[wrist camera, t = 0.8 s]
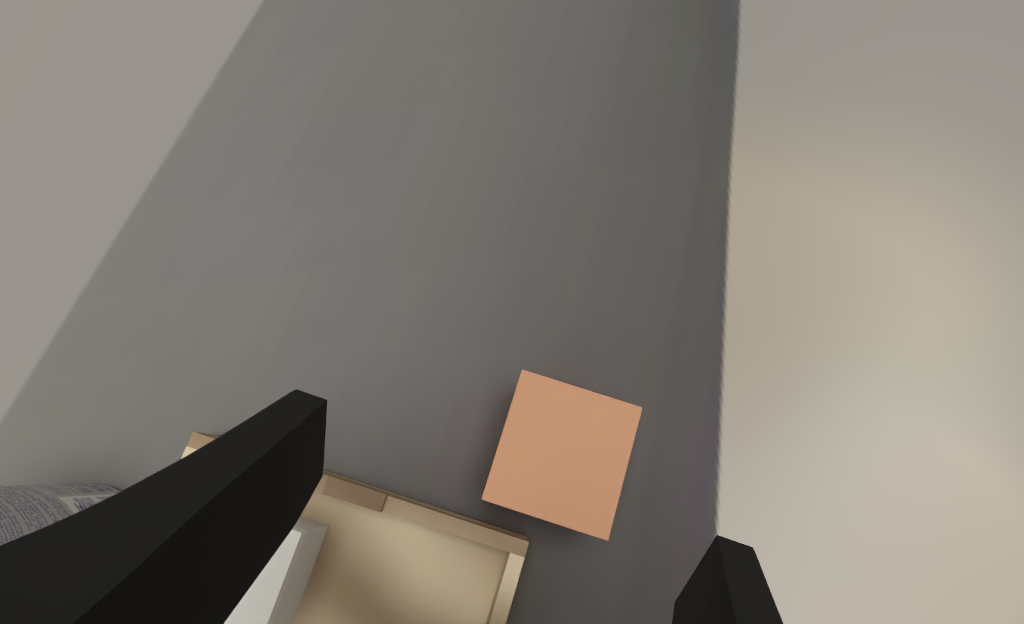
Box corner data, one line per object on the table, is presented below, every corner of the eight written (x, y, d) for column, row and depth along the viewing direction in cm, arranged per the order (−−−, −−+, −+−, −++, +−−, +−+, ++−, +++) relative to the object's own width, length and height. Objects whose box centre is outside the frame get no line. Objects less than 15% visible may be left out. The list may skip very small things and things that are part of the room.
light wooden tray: (458, 765, 25) (454, 803, 22) (126, 651, 26) (80, 674, 23) (525, 534, 27) (530, 541, 24) (219, 434, 28) (188, 429, 25)
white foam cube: (284, 653, 25) (241, 690, 21) (163, 612, 25) (96, 640, 21) (332, 523, 27) (301, 532, 22) (217, 485, 27) (164, 487, 22)
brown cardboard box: (582, 526, 28) (608, 541, 22) (482, 494, 28) (481, 499, 22) (611, 420, 29) (642, 407, 23) (515, 390, 29) (522, 369, 23)
